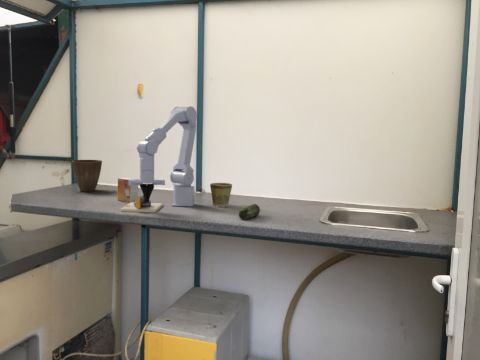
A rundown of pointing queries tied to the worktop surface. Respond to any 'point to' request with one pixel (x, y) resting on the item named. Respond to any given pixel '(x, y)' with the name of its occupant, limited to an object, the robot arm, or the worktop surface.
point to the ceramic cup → (220, 193)
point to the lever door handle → (141, 202)
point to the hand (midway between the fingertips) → (146, 202)
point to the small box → (127, 190)
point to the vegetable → (249, 211)
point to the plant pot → (87, 173)
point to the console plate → (142, 208)
